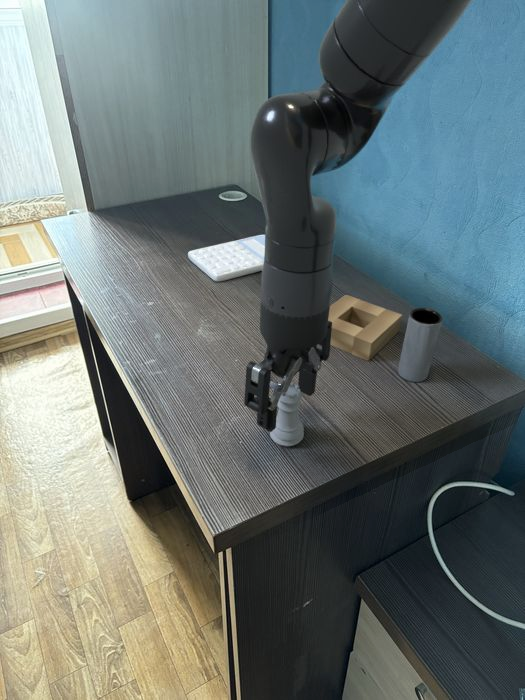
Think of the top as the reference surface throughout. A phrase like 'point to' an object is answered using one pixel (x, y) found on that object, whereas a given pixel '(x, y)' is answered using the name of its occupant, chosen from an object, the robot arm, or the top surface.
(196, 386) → the top surface
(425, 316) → the planter
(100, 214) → the top surface
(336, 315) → the holder
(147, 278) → the top surface
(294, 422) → the rook chess piece
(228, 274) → the calculator
